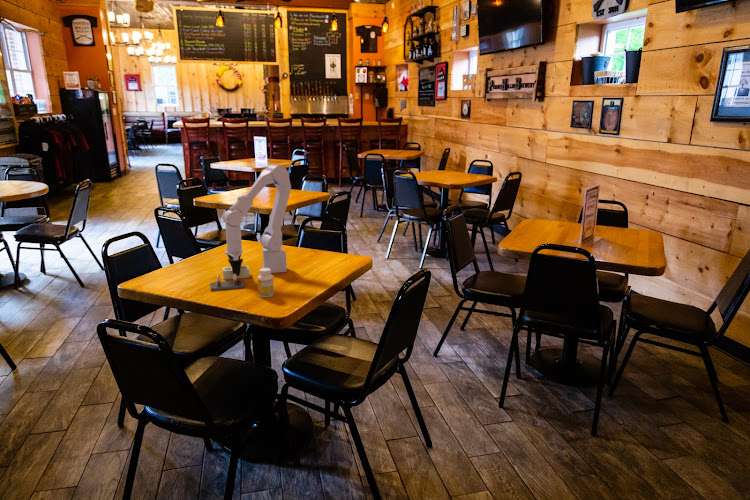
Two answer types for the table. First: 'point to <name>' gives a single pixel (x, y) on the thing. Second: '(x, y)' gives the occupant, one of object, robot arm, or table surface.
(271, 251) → the robot arm
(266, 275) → the supplement bottle
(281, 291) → the table surface
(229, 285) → the base
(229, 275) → the hollow breeze brick
